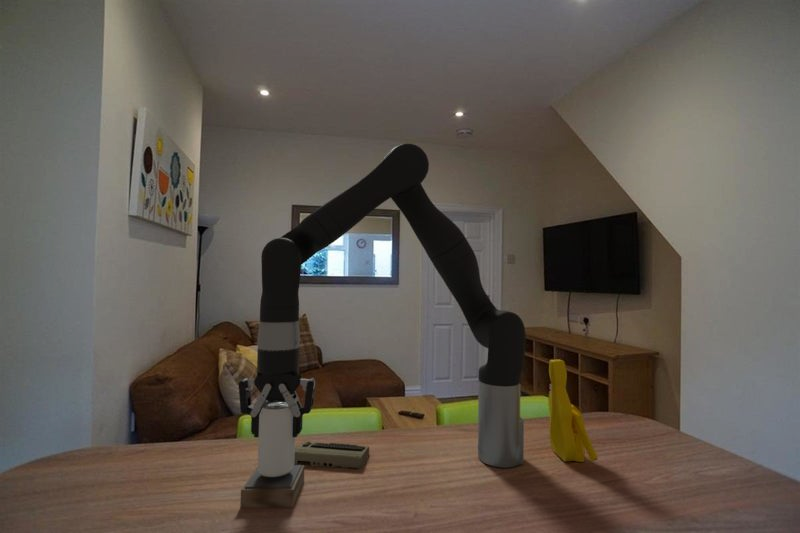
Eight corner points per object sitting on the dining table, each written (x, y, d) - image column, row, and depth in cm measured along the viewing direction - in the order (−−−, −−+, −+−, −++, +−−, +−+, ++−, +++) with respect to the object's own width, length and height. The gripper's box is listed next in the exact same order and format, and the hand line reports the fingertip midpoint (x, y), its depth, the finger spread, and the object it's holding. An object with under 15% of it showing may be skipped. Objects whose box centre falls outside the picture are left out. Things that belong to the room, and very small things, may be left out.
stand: (304, 481, 75) (304, 463, 76) (293, 507, 66) (293, 488, 67) (257, 481, 75) (258, 463, 75) (240, 507, 66) (240, 488, 66)
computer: (369, 455, 88) (369, 440, 88) (361, 472, 80) (361, 455, 80) (304, 450, 90) (304, 435, 91) (289, 466, 82) (290, 450, 83)
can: (249, 474, 69) (251, 406, 70) (274, 459, 75) (275, 397, 76) (278, 481, 67) (280, 411, 67) (301, 465, 73) (302, 401, 73)
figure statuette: (606, 475, 79) (605, 368, 80) (570, 476, 79) (569, 368, 80) (563, 440, 97) (563, 353, 98) (533, 441, 96) (533, 353, 97)
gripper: (320, 342, 76) (319, 428, 75) (247, 342, 76) (244, 428, 75) (313, 348, 69) (311, 444, 68) (232, 348, 68) (229, 444, 67)
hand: (276, 435), depth 71 cm, fingers closed on can, 6 cm apart
